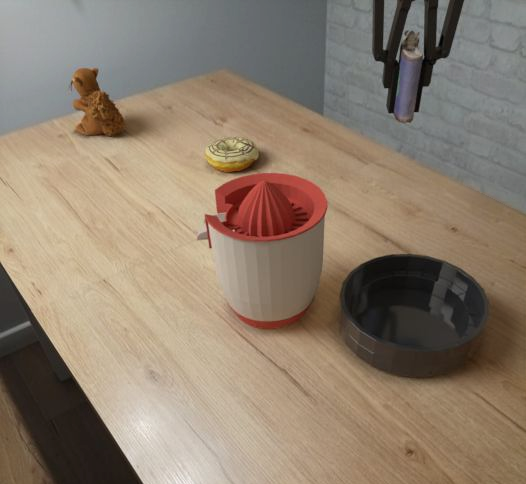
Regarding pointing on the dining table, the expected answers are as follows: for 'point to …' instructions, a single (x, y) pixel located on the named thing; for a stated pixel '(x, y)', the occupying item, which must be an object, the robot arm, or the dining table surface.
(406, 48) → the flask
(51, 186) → the dining table surface
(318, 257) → the citrus juicer
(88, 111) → the stuffed squirrel
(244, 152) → the decorated donut
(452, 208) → the dining table surface
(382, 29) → the robot arm
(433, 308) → the bowl
